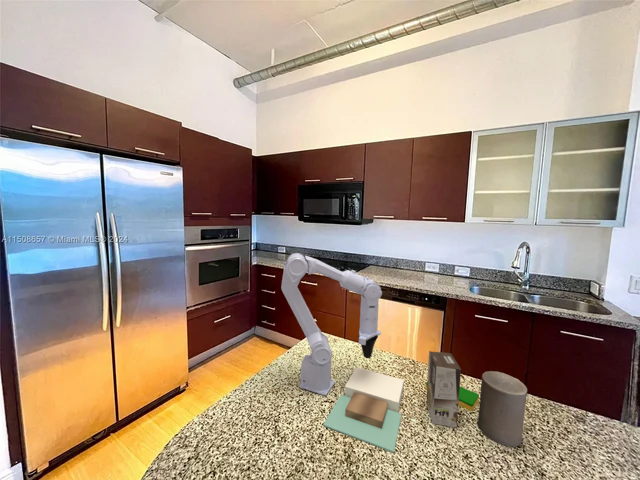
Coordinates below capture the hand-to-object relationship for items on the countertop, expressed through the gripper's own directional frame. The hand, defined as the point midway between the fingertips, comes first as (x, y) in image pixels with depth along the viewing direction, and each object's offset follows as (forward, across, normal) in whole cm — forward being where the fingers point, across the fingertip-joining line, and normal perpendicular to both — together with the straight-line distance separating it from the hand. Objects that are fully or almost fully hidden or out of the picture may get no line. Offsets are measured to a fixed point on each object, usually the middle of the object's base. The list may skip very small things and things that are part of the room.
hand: (367, 357), depth 87 cm
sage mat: (+9, -16, -4) cm, 19 cm away
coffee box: (+9, -4, -23) cm, 25 cm away
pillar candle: (+10, -3, -37) cm, 38 cm away
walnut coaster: (+9, -13, -4) cm, 17 cm away
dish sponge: (+10, +8, -25) cm, 28 cm away
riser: (+9, -3, -4) cm, 10 cm away
